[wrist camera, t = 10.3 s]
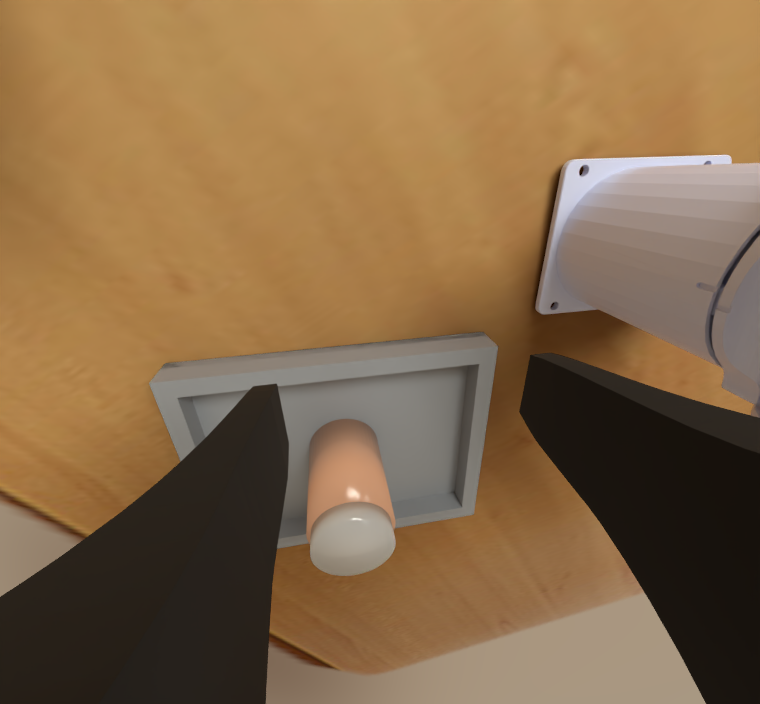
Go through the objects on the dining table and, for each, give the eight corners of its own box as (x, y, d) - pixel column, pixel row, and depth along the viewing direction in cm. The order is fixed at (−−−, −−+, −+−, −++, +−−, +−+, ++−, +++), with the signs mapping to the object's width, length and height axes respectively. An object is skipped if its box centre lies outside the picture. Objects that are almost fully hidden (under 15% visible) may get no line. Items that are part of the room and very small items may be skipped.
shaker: (370, 411, 21) (391, 507, 15) (382, 461, 23) (405, 563, 17) (300, 428, 21) (293, 533, 15) (319, 478, 23) (320, 587, 17)
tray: (482, 331, 21) (498, 346, 19) (463, 492, 27) (473, 514, 25) (165, 363, 18) (148, 383, 17) (226, 531, 25) (220, 558, 23)
